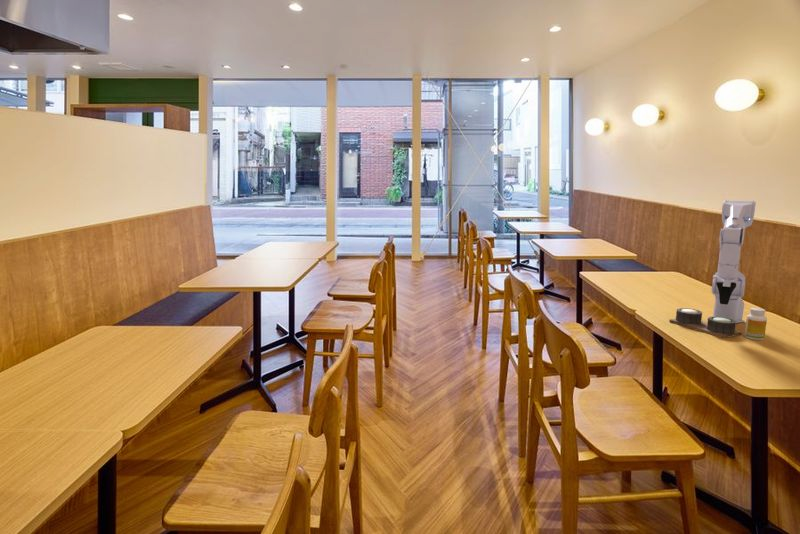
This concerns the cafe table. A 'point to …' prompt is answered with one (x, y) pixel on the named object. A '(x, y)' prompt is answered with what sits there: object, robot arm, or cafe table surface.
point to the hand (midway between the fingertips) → (723, 303)
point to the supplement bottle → (756, 324)
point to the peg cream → (688, 311)
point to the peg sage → (722, 319)
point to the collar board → (705, 323)
